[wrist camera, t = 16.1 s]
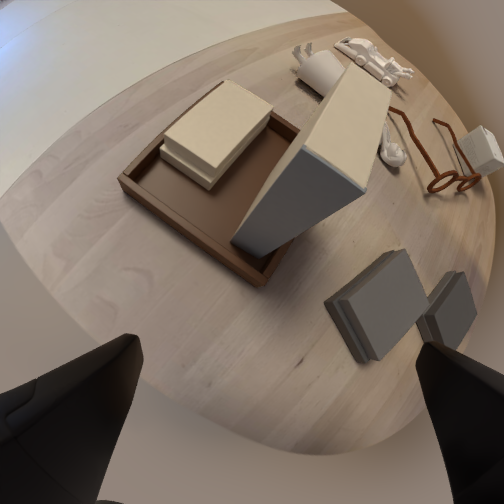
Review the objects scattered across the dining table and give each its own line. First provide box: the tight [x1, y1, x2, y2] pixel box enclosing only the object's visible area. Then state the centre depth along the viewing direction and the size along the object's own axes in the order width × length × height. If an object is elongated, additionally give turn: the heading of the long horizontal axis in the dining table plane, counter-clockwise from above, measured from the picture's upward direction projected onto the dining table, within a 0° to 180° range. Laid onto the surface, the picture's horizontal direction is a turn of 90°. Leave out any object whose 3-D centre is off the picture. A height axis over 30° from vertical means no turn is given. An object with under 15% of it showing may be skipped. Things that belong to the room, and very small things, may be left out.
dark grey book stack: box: [416, 271, 477, 351], centre depth 24 cm, size 8×6×3 cm
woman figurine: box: [292, 43, 407, 167], centre depth 25 cm, size 12×4×18 cm
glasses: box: [388, 106, 482, 193], centre depth 28 cm, size 13×13×5 cm
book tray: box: [117, 81, 300, 288], centre depth 21 cm, size 13×13×2 cm
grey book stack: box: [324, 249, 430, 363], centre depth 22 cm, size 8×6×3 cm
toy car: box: [334, 37, 414, 87], centre depth 29 cm, size 6×12×4 cm, turn 55°
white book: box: [230, 62, 392, 259], centre depth 15 cm, size 7×2×13 cm, turn 152°
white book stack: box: [160, 80, 274, 190], centre depth 20 cm, size 8×5×3 cm, turn 147°
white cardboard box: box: [453, 126, 504, 177], centre depth 30 cm, size 6×6×7 cm
